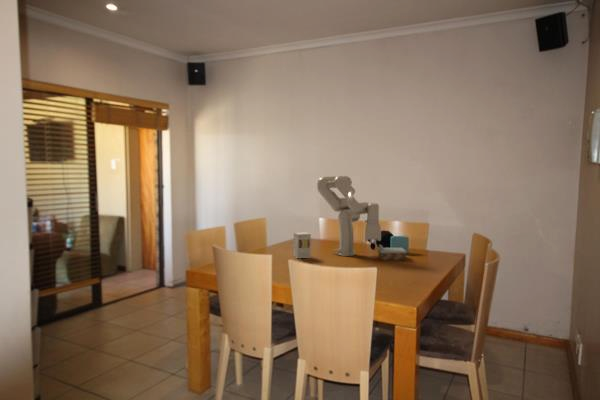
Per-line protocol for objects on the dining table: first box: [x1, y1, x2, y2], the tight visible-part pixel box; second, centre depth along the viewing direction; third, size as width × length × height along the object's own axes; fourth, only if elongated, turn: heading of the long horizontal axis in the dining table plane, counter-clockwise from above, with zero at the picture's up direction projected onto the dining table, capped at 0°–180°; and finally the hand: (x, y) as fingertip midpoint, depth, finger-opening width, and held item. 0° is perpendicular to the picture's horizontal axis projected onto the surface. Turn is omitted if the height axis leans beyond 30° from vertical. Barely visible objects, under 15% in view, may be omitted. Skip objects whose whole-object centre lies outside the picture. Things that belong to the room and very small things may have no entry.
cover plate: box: [377, 245, 406, 253], centre depth 280 cm, size 16×13×5 cm
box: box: [377, 250, 407, 261], centre depth 280 cm, size 16×11×5 cm
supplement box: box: [293, 231, 312, 260], centre depth 285 cm, size 10×9×17 cm
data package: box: [390, 235, 410, 255], centre depth 298 cm, size 12×4×12 cm, turn 93°
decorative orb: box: [375, 229, 394, 248], centre depth 312 cm, size 14×15×15 cm
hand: (372, 249), depth 280 cm, fingers closed
